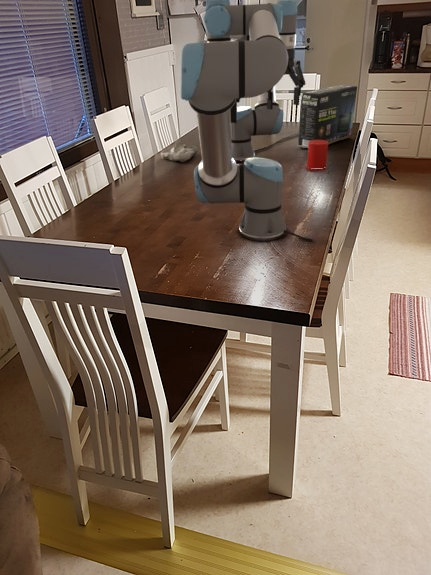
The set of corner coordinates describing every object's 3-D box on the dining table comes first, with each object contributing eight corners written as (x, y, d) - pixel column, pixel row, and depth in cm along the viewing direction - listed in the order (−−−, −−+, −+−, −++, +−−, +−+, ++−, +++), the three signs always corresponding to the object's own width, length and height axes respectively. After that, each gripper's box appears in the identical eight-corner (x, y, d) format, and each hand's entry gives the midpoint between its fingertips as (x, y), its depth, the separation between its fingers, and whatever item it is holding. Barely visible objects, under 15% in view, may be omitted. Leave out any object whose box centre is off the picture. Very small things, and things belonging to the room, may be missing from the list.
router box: (314, 151, 231) (318, 94, 217) (296, 148, 237) (299, 92, 224) (352, 138, 251) (358, 85, 238) (335, 135, 258) (340, 83, 245)
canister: (302, 168, 207) (304, 142, 201) (314, 164, 212) (316, 138, 206) (317, 172, 202) (319, 145, 196) (329, 168, 206) (332, 141, 200)
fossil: (184, 156, 217) (163, 136, 220) (174, 174, 223) (154, 154, 227) (205, 153, 231) (186, 134, 234) (195, 171, 237) (176, 152, 240)
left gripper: (264, 50, 166) (263, 112, 177) (316, 45, 177) (312, 104, 188) (252, 49, 172) (252, 109, 183) (303, 45, 182) (300, 102, 193)
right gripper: (232, 53, 155) (233, 118, 166) (184, 59, 138) (189, 132, 149) (251, 53, 151) (250, 120, 162) (204, 60, 134) (207, 134, 145)
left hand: (283, 107), depth 185 cm, fingers open, 13 cm apart
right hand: (221, 126), depth 155 cm, fingers open, 13 cm apart
